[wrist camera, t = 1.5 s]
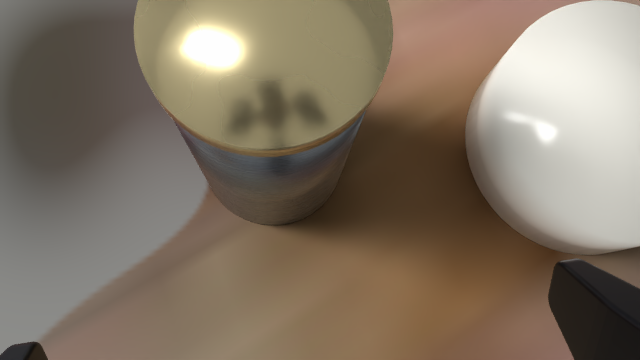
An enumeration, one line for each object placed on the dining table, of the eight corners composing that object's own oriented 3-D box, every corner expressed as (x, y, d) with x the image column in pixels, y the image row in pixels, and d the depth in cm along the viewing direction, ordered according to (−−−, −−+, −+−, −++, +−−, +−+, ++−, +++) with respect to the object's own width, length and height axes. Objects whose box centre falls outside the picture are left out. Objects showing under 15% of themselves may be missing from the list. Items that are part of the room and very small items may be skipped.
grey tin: (365, 198, 24) (432, 99, 13) (228, 248, 23) (178, 185, 12) (315, 73, 25) (338, -110, 14) (183, 116, 24) (103, -47, 13)
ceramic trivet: (715, 210, 25) (796, 190, 21) (521, 288, 23) (569, 282, 19) (613, 22, 27) (669, -28, 23) (429, 83, 25) (455, 41, 21)
